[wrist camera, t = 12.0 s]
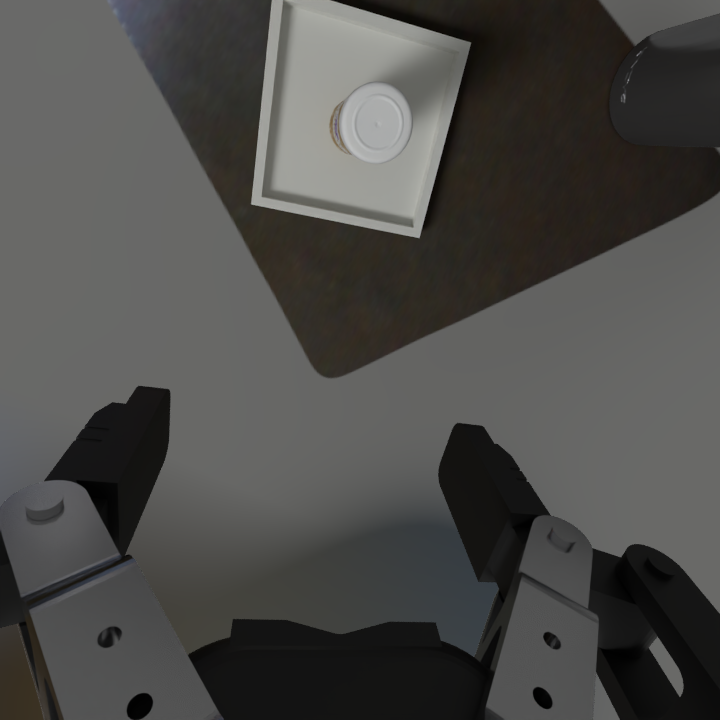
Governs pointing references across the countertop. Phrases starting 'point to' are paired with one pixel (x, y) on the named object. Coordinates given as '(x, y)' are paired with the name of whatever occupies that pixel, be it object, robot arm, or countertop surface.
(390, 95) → the sprinkles bottle
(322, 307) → the countertop surface
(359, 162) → the tray
